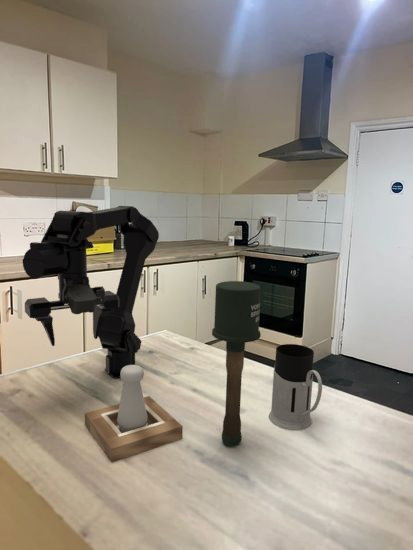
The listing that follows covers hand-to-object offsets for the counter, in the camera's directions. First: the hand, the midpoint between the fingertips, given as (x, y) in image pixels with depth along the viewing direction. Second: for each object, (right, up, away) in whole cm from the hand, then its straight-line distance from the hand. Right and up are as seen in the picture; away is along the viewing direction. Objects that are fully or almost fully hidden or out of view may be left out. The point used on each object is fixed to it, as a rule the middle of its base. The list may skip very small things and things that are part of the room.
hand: (74, 341), depth 92 cm
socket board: (+14, -16, -10) cm, 23 cm away
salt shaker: (+14, -16, -10) cm, 23 cm away
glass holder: (+47, -16, -6) cm, 50 cm away
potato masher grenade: (+33, -17, -13) cm, 39 cm away
